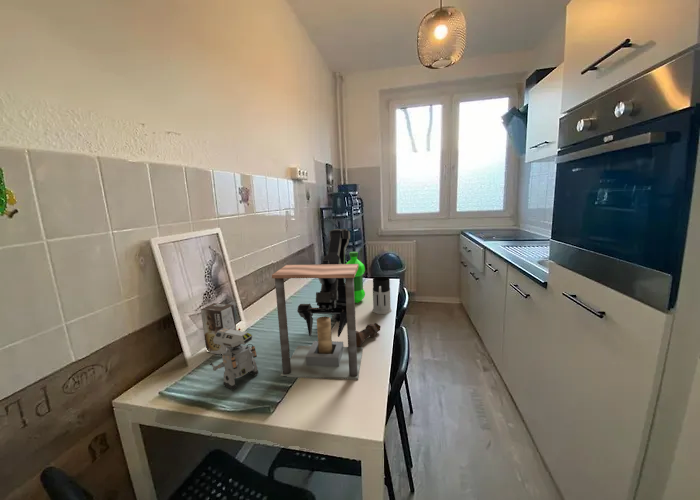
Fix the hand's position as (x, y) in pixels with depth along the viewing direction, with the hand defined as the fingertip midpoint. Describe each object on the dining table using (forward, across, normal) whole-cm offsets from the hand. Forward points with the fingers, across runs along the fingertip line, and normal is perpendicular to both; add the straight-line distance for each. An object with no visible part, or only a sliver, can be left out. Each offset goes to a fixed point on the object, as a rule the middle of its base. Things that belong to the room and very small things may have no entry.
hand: (324, 336), depth 93 cm
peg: (+5, 0, +6) cm, 8 cm away
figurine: (+14, -24, -2) cm, 28 cm away
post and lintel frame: (+6, 0, +5) cm, 8 cm away
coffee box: (+3, -38, +10) cm, 39 cm away
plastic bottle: (-33, +4, +46) cm, 57 cm away
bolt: (-4, +13, +16) cm, 21 cm away
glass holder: (-22, +17, +35) cm, 45 cm away
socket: (+5, 0, +6) cm, 8 cm away
